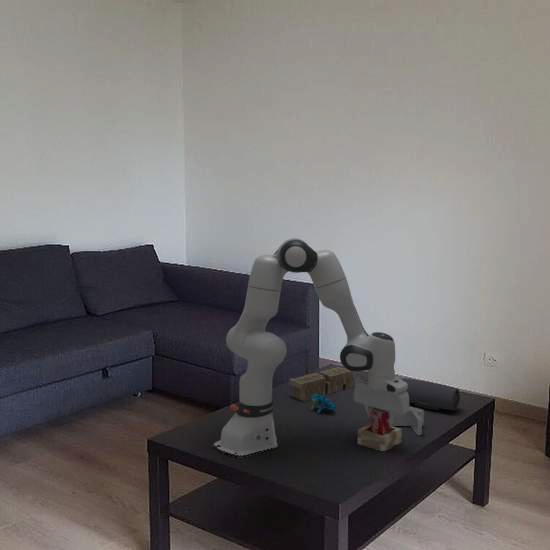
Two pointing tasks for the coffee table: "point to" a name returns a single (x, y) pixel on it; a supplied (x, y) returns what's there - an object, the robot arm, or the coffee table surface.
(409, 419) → the v-block
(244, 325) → the robot arm
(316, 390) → the block tower
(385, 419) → the beverage can
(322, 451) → the coffee table surface
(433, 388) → the bluetooth speaker
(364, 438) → the bore block
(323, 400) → the blue toy figure
